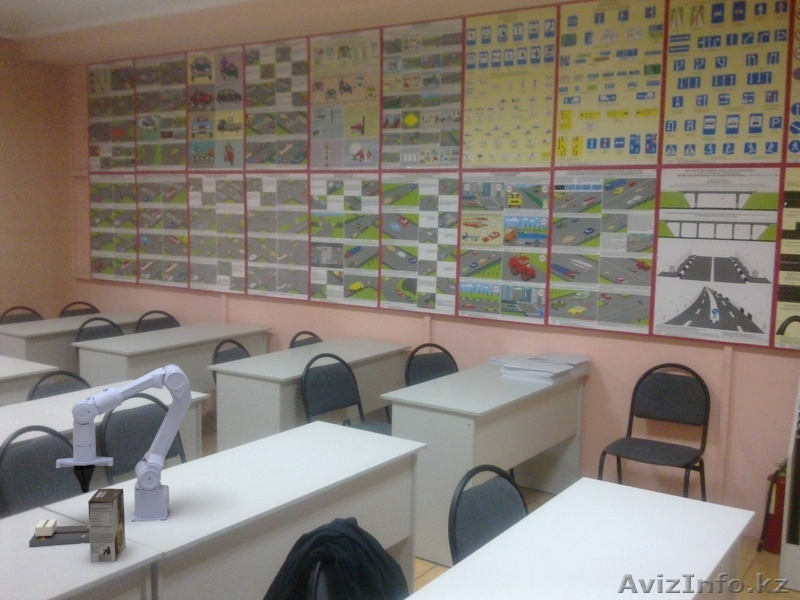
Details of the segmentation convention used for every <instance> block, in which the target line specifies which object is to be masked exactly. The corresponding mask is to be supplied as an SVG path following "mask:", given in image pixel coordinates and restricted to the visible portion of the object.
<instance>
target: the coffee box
mask: <svg viewBox="0 0 800 600" xmlns="http://www.w3.org/2000/svg"><path fill="white" fill-rule="evenodd" d="M124 497H125V496H124V488H99V489H97V491H95V493H93V495H92V496H91V498H90V499H89V500H88V503H87V504H88V525H89V531H90V543H89V551H90V553H89V554H90V564H92V563H93V564H95V562H96V563H115V562H117V561H118V560H119V558H120V557H121V555H122V553H123V552H124V551H125V549H126V528H125V527H126V525H125V522H126V521H125V520H126V519H125V499H124Z"/></svg>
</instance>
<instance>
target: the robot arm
mask: <svg viewBox="0 0 800 600" xmlns="http://www.w3.org/2000/svg"><path fill="white" fill-rule="evenodd" d="M190 383H191V382H190V380H189V378H188V377H187V375H186V373H185V372H184V371H183V370H182V368H181V367H180V366H179V365H177V364H174V363H169V364H166V365H165V366H164V367H158V368H156V369H153V370H152V371H150V372H149V373H146V374H145V375H142V376H141V377H139V378H136V379H134V380H132V381H131V382H129V383H128V384H125V385H123V386H121V387H114V386H111V387H108V386H104V387H103V388H102V391H100V392H98V393H96V394H94V395H91V396H90V395H88V396H86V399H84V398H83V399H79V400H77V401H76V402H75V403H74V404H73V405H72V408H71V413H72V418H73V422H72V425H73V427H72V443H73V444H72V445H73V446H72V450H73V451H72V453H73V454H72V455H73V457H68V458H67V457H66V458H58V459H57V460H56V461H55V468H56V469H60V468H70V467H71V468H72V467H73V470H72V472H73V474H74V475H75V477H76V479H77V480H78V483H79V487H80V490H81V493H82V494H83V493H84V494H87V493H89V490H90V484H91V481H92V477H93V475H94V472H95V470H96V467H97V466H98V467H100V466H101V467H102V466H105V467H106V466H107V467H112V466H113V465H114V457H111V456H109V457H106V456H97V452H96V451H97V449H96V445H97V444H96V442H97V441H96V425H95V418H96V417H98V416H101V415H103V414H105V413H108V412H110V411H112V410H113V409H116V408H118V407H120V406H122V404H123V402H124V400H125V399H127V398H129V397H132V396H135V395H136V394H139V393H141V392H143V391H146V390H148V389H151V388H154V389H160V390H163V389H164V386H165V388H166V389H167V390H168V391H169V394H170V395H171V396H170V397H171V398H172V401H171V404H170V406H169V407H168V410H167V412H166V415H165V417H163V420H162V421H161V425H160V427H159V428H158V431H157V433H156V435H155V436H154V438H153V441H152V442H151V445H150V448H149V449H148V450H147V452H145V454H144V456H143V457H142V459H141V460H139V461H138V462H137V464H135V467H134V474H135V476H136V479H137V480H136V482H135V483H134V487H133V488H134V490H133V491H134V513H133V515H132V518H131V522H144V521H145V522H146V521H149V522H150V521H166V520H167V519H168V515H169V513H170V507H171V506H170V487H169V485H167V484H162V483H161V480H162V476H161V474H162V471H163V468H164V464H165V459H166V456H167V455H168V452H169V450H170V449H171V446H172V444H173V442H174V440H175V437H176V436H177V434H178V431H179V429H180V427H181V425H182V423H183V421H184V418H185V417H186V415H187V412H188V411H189V408H190V406H191V404H192V400H193V399H192V393H191V392H192V391H191V387H190Z"/></svg>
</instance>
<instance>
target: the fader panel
mask: <svg viewBox="0 0 800 600" xmlns="http://www.w3.org/2000/svg"><path fill="white" fill-rule="evenodd" d="M28 543H29V547H30V548H32V547H34V548H35V547H50V546H67V545H68V546H69V545H79V544H81V543H84V544H90V531H89V524H82V525H81V524H80V525H63V526H62V525H60V526H57V528H56V530H55V531H54V533H53V534H52V536H35V533H34V534H33V535H32V537H31V538H30V540H29V541H28Z"/></svg>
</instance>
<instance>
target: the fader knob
mask: <svg viewBox="0 0 800 600" xmlns="http://www.w3.org/2000/svg"><path fill="white" fill-rule="evenodd" d="M57 520H58V519H40V520H39V522H38V523H37V524H36V526H35V527H34V530H35V531H34V534H35V536H52V534H53V533H54V531H55V530H56V528H57V527H58V526H57V525H58V524H57V522H58V521H57Z"/></svg>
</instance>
